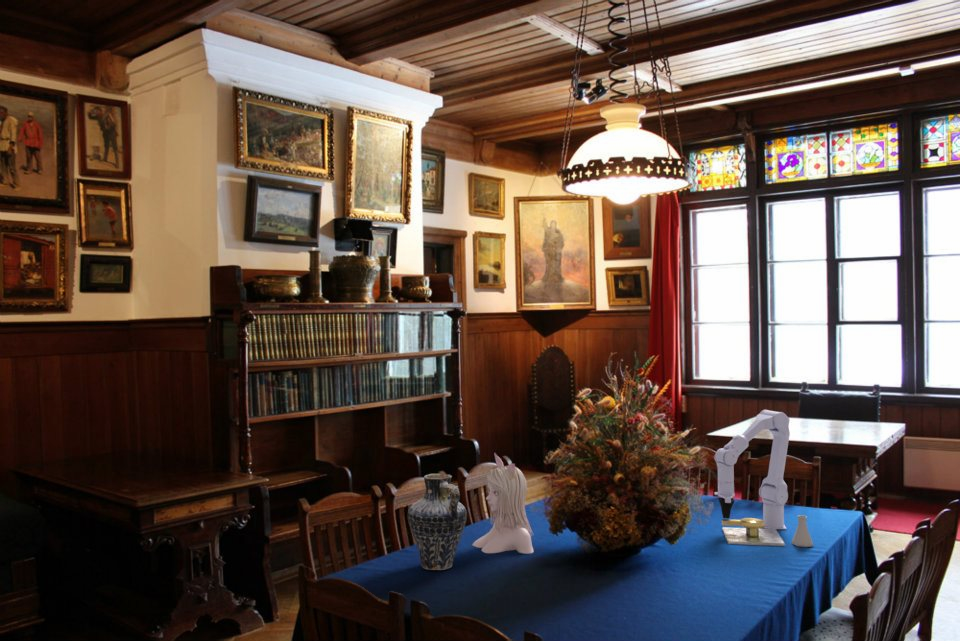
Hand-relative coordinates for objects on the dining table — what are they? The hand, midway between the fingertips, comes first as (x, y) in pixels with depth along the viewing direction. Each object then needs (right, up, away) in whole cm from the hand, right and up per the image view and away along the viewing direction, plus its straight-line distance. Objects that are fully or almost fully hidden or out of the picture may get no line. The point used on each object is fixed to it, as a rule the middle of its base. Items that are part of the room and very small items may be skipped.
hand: (726, 517), depth 291 cm
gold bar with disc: (+4, -4, -6) cm, 8 cm away
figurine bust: (-83, -7, -10) cm, 84 cm away
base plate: (+7, -6, -7) cm, 11 cm away
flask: (+22, -6, -16) cm, 28 cm away
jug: (-105, -8, -33) cm, 110 cm away
